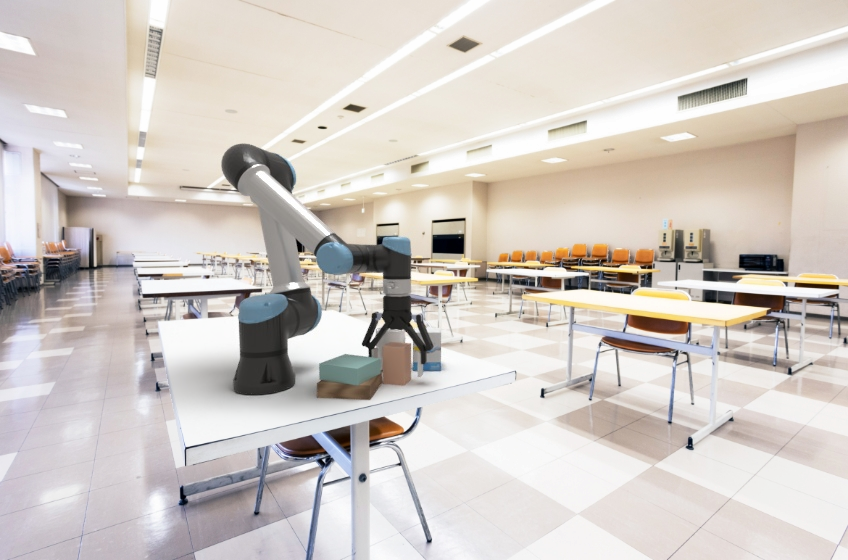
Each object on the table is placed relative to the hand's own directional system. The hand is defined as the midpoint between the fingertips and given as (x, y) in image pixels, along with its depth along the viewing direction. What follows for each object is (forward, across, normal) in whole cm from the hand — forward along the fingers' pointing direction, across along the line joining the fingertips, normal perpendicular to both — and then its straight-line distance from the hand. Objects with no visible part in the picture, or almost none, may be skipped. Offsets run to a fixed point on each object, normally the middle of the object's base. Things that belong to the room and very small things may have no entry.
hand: (397, 374), depth 111 cm
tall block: (+2, 0, 0) cm, 2 cm away
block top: (-1, -9, -10) cm, 13 cm away
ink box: (+2, +4, +16) cm, 17 cm away
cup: (+2, -6, +11) cm, 13 cm away
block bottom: (+3, -9, -10) cm, 14 cm away
